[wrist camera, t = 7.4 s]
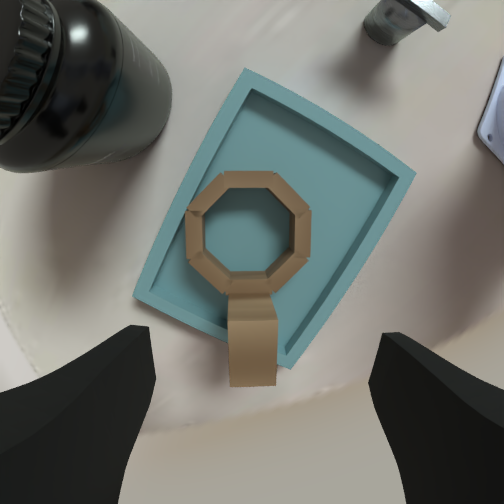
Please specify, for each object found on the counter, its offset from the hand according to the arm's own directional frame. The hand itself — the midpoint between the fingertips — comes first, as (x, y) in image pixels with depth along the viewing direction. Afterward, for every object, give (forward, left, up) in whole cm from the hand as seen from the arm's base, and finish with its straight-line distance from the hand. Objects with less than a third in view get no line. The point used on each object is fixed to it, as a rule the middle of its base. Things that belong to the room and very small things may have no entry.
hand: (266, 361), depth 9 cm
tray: (0, -2, -9) cm, 10 cm away
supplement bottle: (+11, -4, -10) cm, 15 cm away
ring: (+1, 0, -8) cm, 8 cm away
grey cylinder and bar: (0, -16, -9) cm, 18 cm away
